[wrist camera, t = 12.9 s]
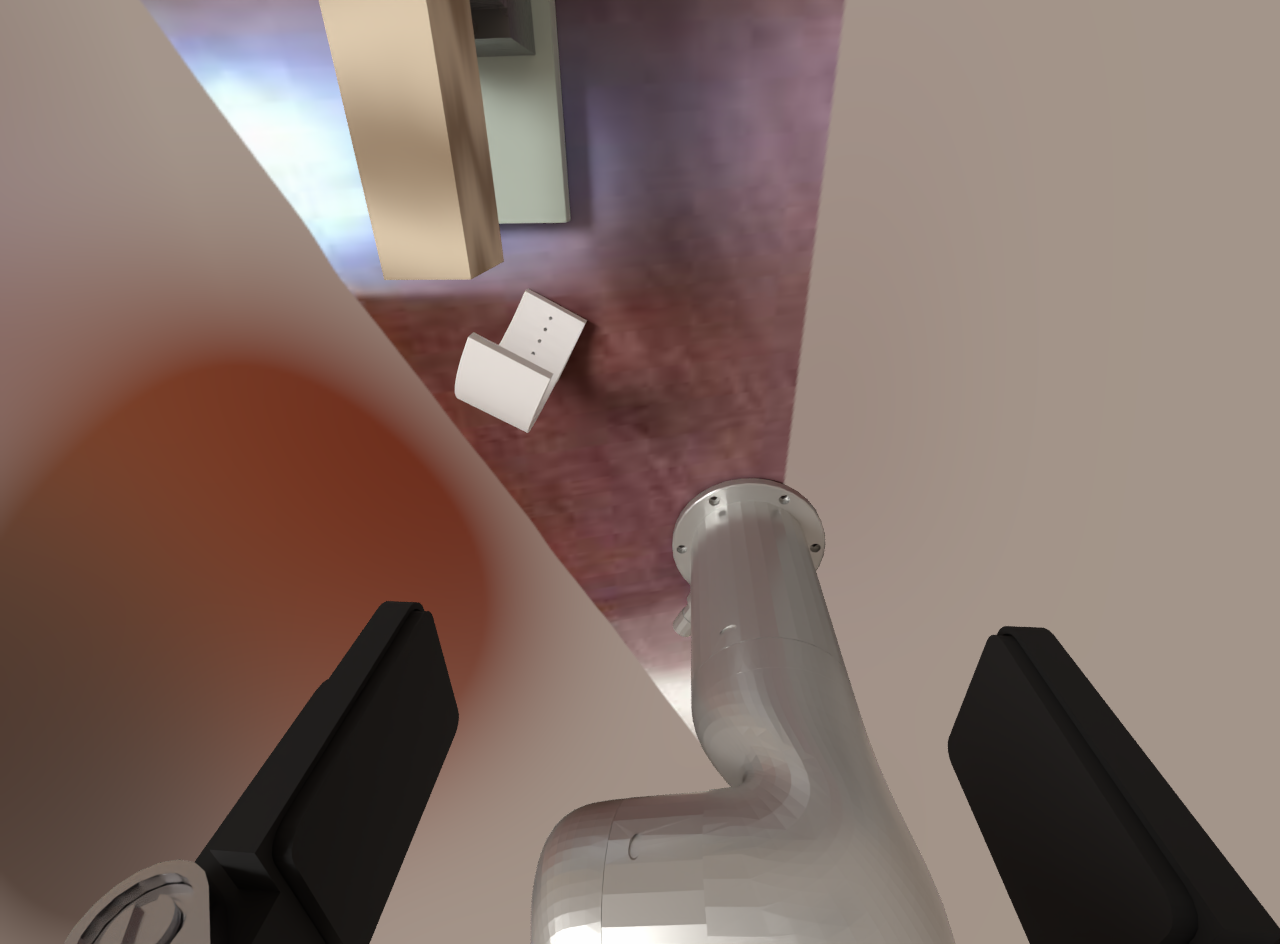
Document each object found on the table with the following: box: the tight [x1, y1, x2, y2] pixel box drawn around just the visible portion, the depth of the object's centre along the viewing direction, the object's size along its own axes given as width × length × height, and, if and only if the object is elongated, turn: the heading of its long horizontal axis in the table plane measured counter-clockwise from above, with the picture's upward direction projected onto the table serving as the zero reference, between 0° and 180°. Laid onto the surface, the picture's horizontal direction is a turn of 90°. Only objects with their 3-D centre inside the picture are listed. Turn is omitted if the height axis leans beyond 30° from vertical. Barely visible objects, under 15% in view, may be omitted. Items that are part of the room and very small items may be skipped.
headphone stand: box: [455, 289, 587, 433], centre depth 35 cm, size 5×6×12 cm
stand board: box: [477, 0, 571, 223], centre depth 30 cm, size 22×8×2 cm, turn 1°
